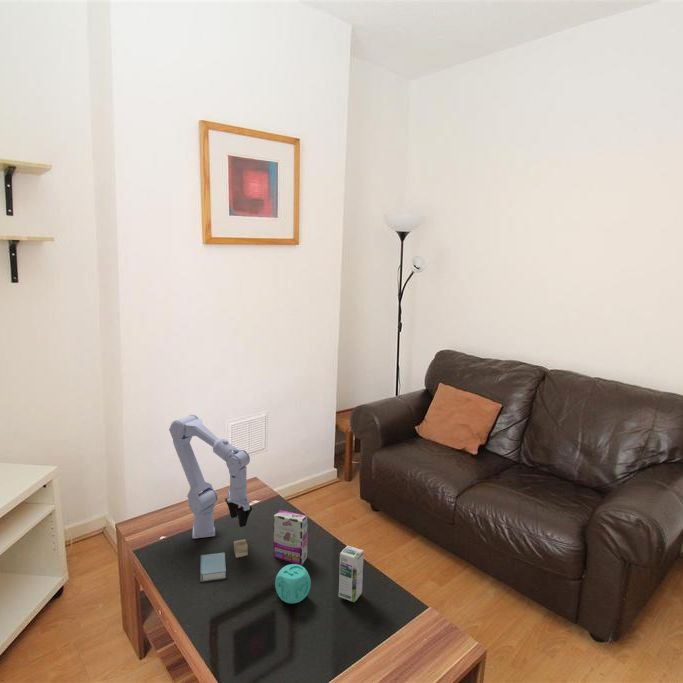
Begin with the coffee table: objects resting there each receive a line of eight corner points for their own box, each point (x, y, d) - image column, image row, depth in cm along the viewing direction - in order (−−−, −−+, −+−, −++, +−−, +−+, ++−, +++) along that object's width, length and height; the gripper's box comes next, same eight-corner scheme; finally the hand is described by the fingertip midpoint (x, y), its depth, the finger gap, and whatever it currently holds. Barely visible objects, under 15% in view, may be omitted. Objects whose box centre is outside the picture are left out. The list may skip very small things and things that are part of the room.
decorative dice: (274, 594, 150) (274, 570, 149) (294, 583, 155) (294, 560, 154) (290, 607, 144) (291, 582, 143) (311, 595, 150) (311, 571, 149)
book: (200, 563, 166) (200, 555, 165) (224, 559, 168) (224, 552, 168) (200, 582, 155) (200, 574, 155) (225, 578, 157) (225, 570, 157)
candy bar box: (307, 559, 169) (308, 515, 167) (301, 567, 164) (302, 521, 162) (279, 552, 173) (280, 508, 171) (272, 559, 168) (272, 515, 166)
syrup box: (337, 597, 149) (339, 553, 148) (346, 586, 155) (347, 544, 153) (354, 603, 147) (355, 558, 145) (362, 592, 152) (364, 549, 150)
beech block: (233, 554, 171) (233, 541, 170) (245, 552, 172) (245, 539, 172) (236, 560, 167) (236, 547, 167) (247, 558, 169) (247, 544, 168)
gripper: (219, 480, 175) (219, 516, 177) (236, 495, 163) (236, 533, 165) (237, 476, 179) (237, 511, 181) (255, 490, 167) (255, 527, 169)
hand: (238, 521), depth 173 cm, fingers open, 7 cm apart
